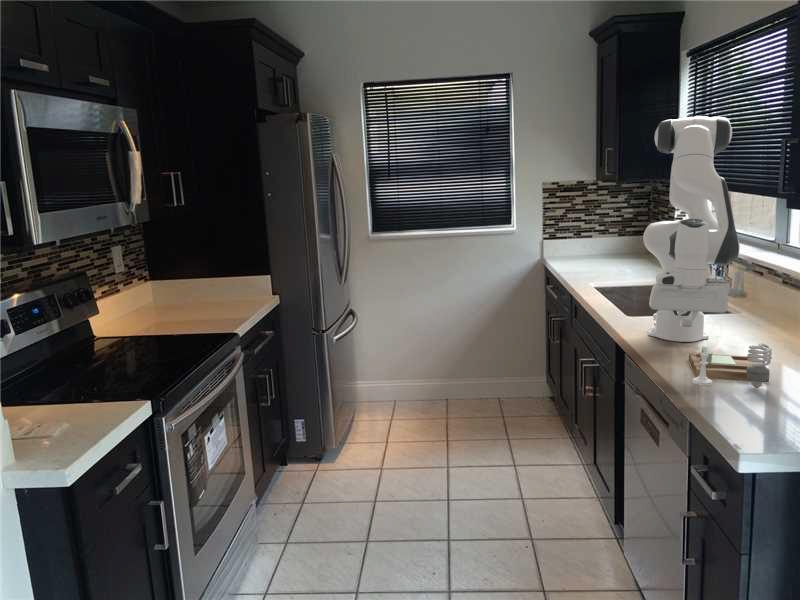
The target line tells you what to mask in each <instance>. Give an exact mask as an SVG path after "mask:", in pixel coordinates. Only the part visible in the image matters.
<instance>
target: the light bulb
mask: <svg viewBox="0 0 800 600" xmlns="http://www.w3.org/2000/svg"><path fill="white" fill-rule="evenodd" d="M748 348H749V349H748V350H747V354H746V355H747V356H748V357H750V358H748V359H747V360H748V361H750V362H757V363H761V364H753V365H752V366H748V367H747V370H746V371H747V379H749V380H751V382H750V384H751V385H752V386H753V387H754V388H756V389H758V388H761V387H762V386H763V383H765V381H767V380H768V378H769V379H770V375H769V374H771V373H770V370H771V369H769V368H768V367H767V366H768V365H770V364H771V363H772V356H773V352H772V351H773V348H772V346H770V345H768V344H765V343H761V342H759V343H758V345H753V344H751V345H749V346H748ZM757 358H758V359H757Z"/></svg>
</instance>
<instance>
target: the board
mask: <svg viewBox="0 0 800 600" xmlns="http://www.w3.org/2000/svg"><path fill="white" fill-rule="evenodd" d="M700 354H701V353H699V352H698V353H696V352H695V353H694V352H689V354H688V363H689V362H690V363H689V365H690V364H691V365H690V368H691V370H692V369H693V370H692V371H694V372H693V374H694V373H695V374H694V375H695V376H694V377H695V378H696V377H698V376H699V375H700V371H701V366H702V364H700V363H699V362H700V361H702V359H701V357H700V356H701V355H700ZM712 355H717V353H716V354H714V353H712ZM719 355H720V356H731V357H732V359H733V360H734V362H735V363H736V365H728V364H713V363H708V364H706V377H707V378H708V379H710V380H722V381H723V380H725V381H738V382H750V383H752V382H751V380H749V379H747V371H746V370H747V367H748V366H752V365H753V364H762V363H757V362H750V361H748V360H747V359H748V358H750V357H748V356H745V355H733V354H732V355H730V354H729V355H728V354H719ZM757 359H759V358H757ZM770 375H771V373H769V376H770ZM765 382H766V383H767V382H768V383H770V377H769V378H768V380H767V381H765ZM765 382H764V383H765ZM768 383H767V384H768Z"/></svg>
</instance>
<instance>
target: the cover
mask: <svg viewBox="0 0 800 600" xmlns="http://www.w3.org/2000/svg"><path fill="white" fill-rule="evenodd" d="M704 347H706V350H707V352H706V353H707V354H708V355H709V356H708V358H707V360H706V362H708V363H713V364H728V365H736V363H735V362H734V360H733V359H732V357H731V356H720V355H721V354H716V355H712V354H713V353H712V352H713V351H711V349H710V347H709V346H702V348H701V353H703V352H704V351H703V350H702V349H703V348H704ZM700 357H701V356H700Z"/></svg>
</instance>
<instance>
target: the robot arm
mask: <svg viewBox="0 0 800 600" xmlns="http://www.w3.org/2000/svg"><path fill="white" fill-rule="evenodd" d="M732 137H733V128H732V125H731V122H730V120H729V119H728V118H727V117H723V116H716V117H709V116H694V117H685V118H677V119H672V118H670V119H666V120H662V121H660V123H659V124H658V126H657V128H656V130H655V132H654V142H655V143H654V144H655V146H656V150H657V151H659V153H661V154H662V153H663V154H673V158H672V159H673V160H672V163H671V169H670V171H671V172H670V181H669V182H670V185H669V198H668V199H669V202H670V204H671V205H672V206H673V207H674V208H676V209H678V210H680V211H682V212H683V213H685V214H687V216H688V218H686V219H683V220H663V221H656V222H651V223H649V224H648V225H647V227H646V228H645V230H644V232H643V236H642V240H643V245H644V247H645V248H646V250H648V251H649V252H650V253H651V254H652V255H653V256H654V257H655V258H656V259H657V260H658V262H659V264H660V266H661V268H662V273H658V274H656V276H655V282H656V283H655V284H654V285H653V286H652V288H651V293H650V296H649V303H648V304H649V307H650V308H651V309H652V310H656V313H653V317H652V318H653V321H654V322H653V324H652V326H651V328H650V329H649V331H648V336H650V337H654V338H655V337H656V338H659V339H661V340H665V341H670V342H681V343H682V342H683V343H685V342H687V343H689V342H698V341H702V340H708V339H709V334H708V333H706V332H705V331H704V329H705V328H704V327H705V326H704V324H705V314H704V313H723V314H724V313H726V312H727V311H728V308H729V307H728V306H729V305H728V303H729V302H728V294H729V293H730V287H731V286H730V283H729V281H727V280H725V279H723V278H708V270H709V266H708V264H713V265H719V266H728V265H730V264H732V263H733V262H734V261H736V259H738V257H739V254H740V249H741V246H740V245H741V244H740V239H739V237H738V233H737V229H736V225H735V220H734V214H733V208H732V203H731V197H730V193H729V188H728V185H727V182H726V180H725V178H724V177H722V176H720V175H719V174H718V172H717V171H716V168H715V163H714V157H716V155H717V154H719V153H721V152H724V150H726V148H727V147H729V145H730V143H731V140H732ZM708 201H709V202H710V203H712V205H713V207H714V211H715V216H714V215H713V213H712V211H711V209H710V207H709V203H708Z"/></svg>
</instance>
